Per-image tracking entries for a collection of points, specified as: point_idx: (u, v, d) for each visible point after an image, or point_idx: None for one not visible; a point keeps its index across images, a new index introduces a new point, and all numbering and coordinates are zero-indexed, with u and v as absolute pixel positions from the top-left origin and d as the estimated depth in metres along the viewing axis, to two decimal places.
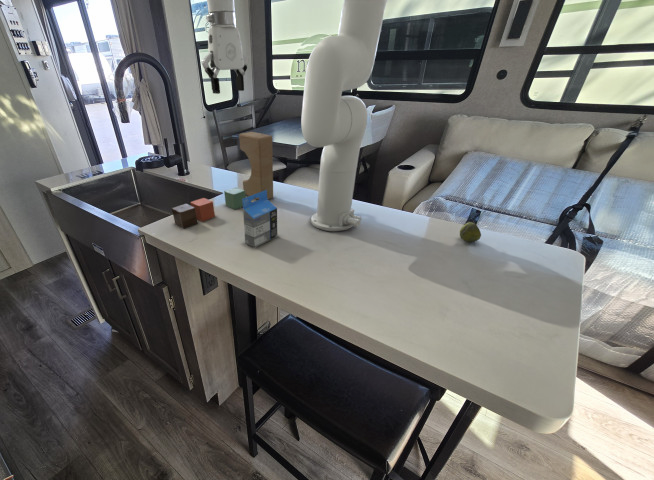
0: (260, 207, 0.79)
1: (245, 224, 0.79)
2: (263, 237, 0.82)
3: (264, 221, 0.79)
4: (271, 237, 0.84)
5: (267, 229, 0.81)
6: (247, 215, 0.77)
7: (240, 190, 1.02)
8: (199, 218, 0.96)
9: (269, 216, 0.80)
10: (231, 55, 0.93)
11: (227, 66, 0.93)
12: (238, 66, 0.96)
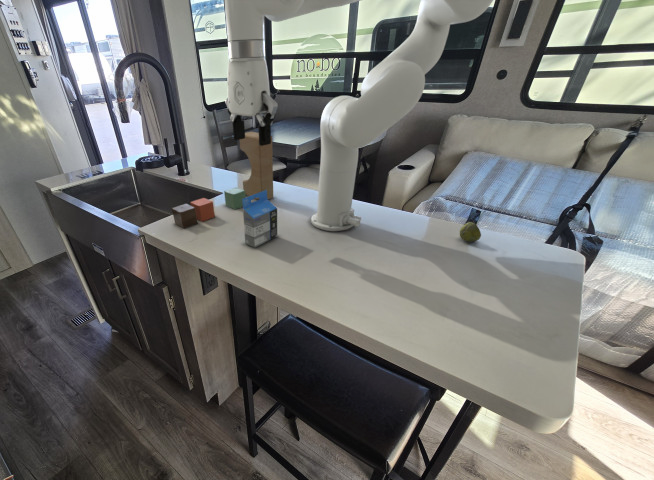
0: (260, 207, 0.79)
1: (245, 224, 0.79)
2: (263, 237, 0.82)
3: (264, 221, 0.79)
4: (271, 237, 0.84)
5: (267, 229, 0.81)
6: (247, 215, 0.77)
7: (240, 190, 1.02)
8: (199, 218, 0.96)
9: (269, 216, 0.80)
10: (240, 98, 0.68)
11: (236, 111, 0.71)
12: (247, 113, 0.68)
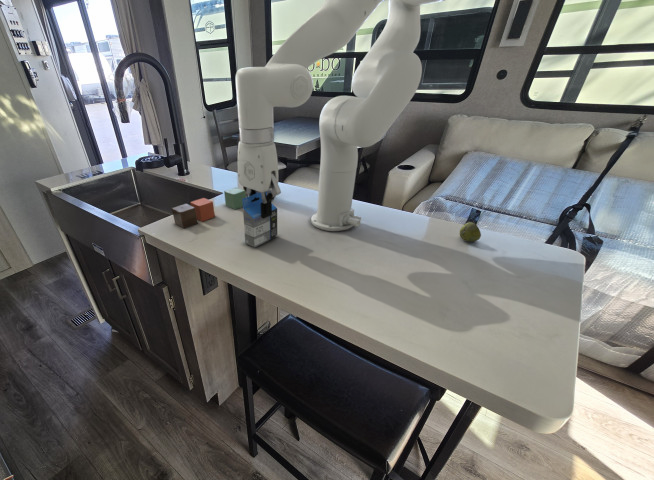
0: (260, 207, 0.79)
1: (245, 224, 0.79)
2: (263, 237, 0.82)
3: (264, 221, 0.79)
4: (271, 237, 0.84)
5: (267, 229, 0.81)
6: (247, 215, 0.77)
7: (240, 190, 1.02)
8: (199, 218, 0.96)
9: (269, 216, 0.80)
10: (250, 175, 0.72)
11: (246, 184, 0.75)
12: (257, 189, 0.72)
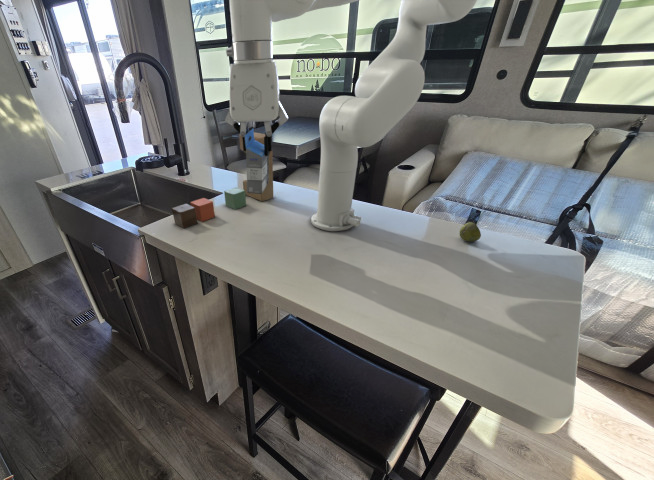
0: (257, 146, 0.70)
1: (249, 167, 0.69)
2: (265, 181, 0.74)
3: (265, 161, 0.71)
4: (267, 182, 0.77)
5: (266, 171, 0.74)
6: (253, 154, 0.67)
7: (240, 190, 1.02)
8: (199, 218, 0.96)
9: None
10: (253, 102, 0.63)
11: (246, 117, 0.64)
12: (265, 118, 0.64)
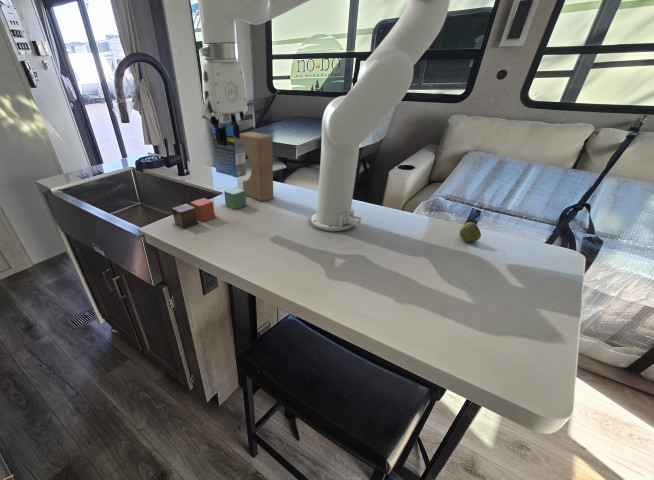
0: None
1: (236, 153, 0.78)
2: None
3: None
4: None
5: None
6: (239, 141, 0.77)
7: (240, 190, 1.02)
8: (199, 218, 0.96)
9: None
10: (232, 96, 0.73)
11: (227, 109, 0.73)
12: (240, 108, 0.76)
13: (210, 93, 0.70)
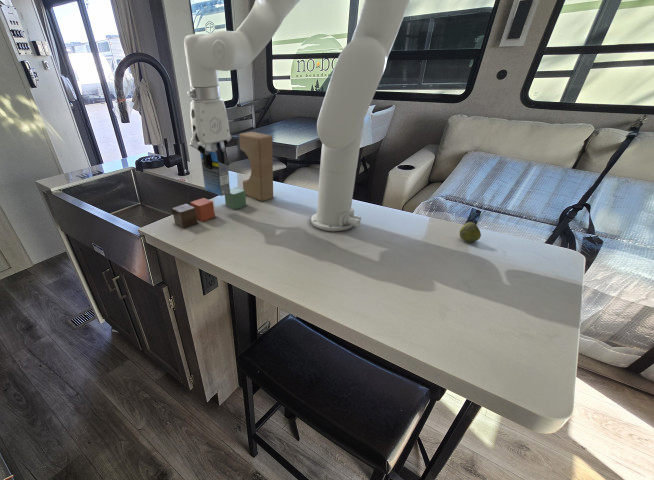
0: None
1: (221, 176, 0.91)
2: None
3: None
4: None
5: None
6: (222, 165, 0.90)
7: (240, 190, 1.02)
8: (199, 218, 0.96)
9: None
10: (216, 128, 0.85)
11: (212, 140, 0.86)
12: (224, 138, 0.88)
13: (197, 127, 0.83)
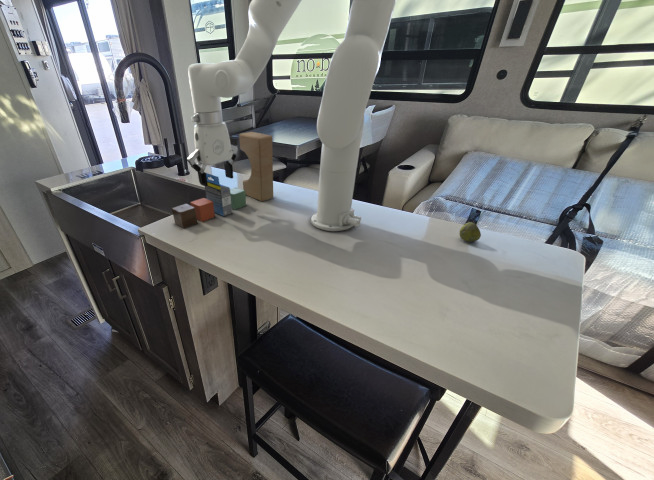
0: None
1: (223, 198, 0.95)
2: None
3: None
4: None
5: None
6: (224, 188, 0.94)
7: (240, 190, 1.02)
8: (199, 218, 0.96)
9: None
10: (218, 150, 0.89)
11: (215, 161, 0.89)
12: (226, 158, 0.92)
13: (200, 150, 0.86)
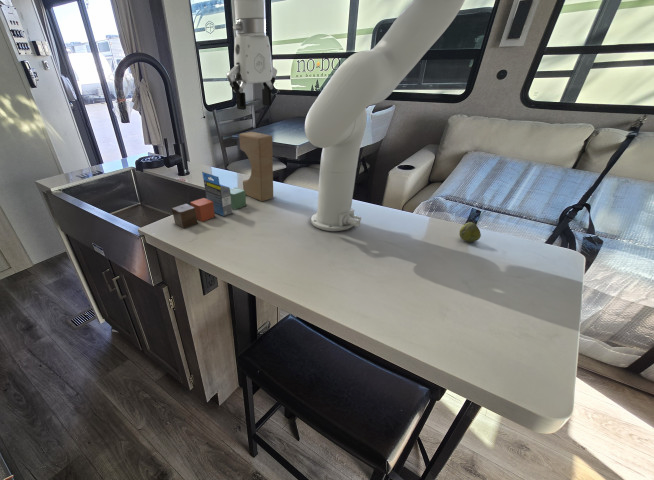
0: None
1: (223, 198, 0.95)
2: None
3: None
4: None
5: None
6: (224, 188, 0.94)
7: (240, 190, 1.02)
8: (199, 218, 0.96)
9: None
10: (260, 67, 0.82)
11: (255, 79, 0.83)
12: (266, 79, 0.85)
13: (241, 64, 0.80)
